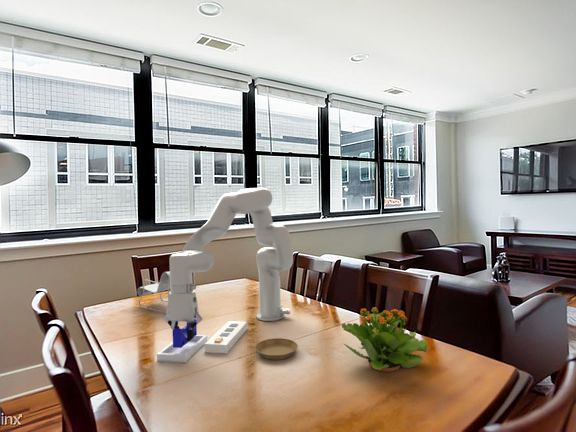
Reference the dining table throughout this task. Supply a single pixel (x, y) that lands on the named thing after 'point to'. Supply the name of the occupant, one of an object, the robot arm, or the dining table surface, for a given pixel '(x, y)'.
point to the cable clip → (181, 336)
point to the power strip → (226, 337)
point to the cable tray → (182, 350)
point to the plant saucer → (276, 348)
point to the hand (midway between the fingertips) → (183, 338)
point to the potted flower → (386, 341)
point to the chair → (155, 288)
